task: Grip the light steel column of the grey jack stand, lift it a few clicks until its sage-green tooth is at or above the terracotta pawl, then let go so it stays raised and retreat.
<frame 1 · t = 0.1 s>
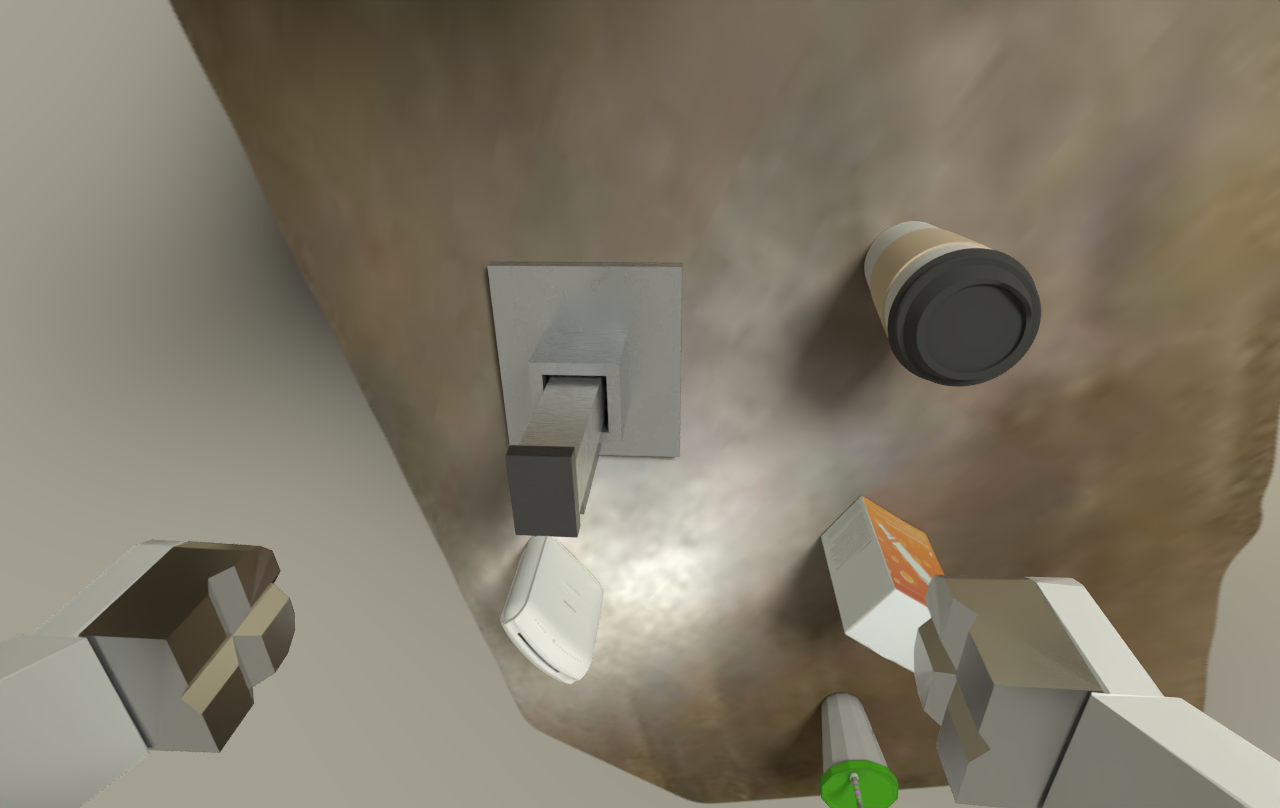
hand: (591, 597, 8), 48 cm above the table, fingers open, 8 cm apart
column: (569, 422, 50), point 11 cm above the table, slide at 0.0 cm
small box: (871, 532, 66), on the table
coffee cup: (907, 263, 54), on the table
photo printer: (565, 566, 71), on the table
cup: (840, 704, 78), on the table
stand base: (591, 361, 60), on the table
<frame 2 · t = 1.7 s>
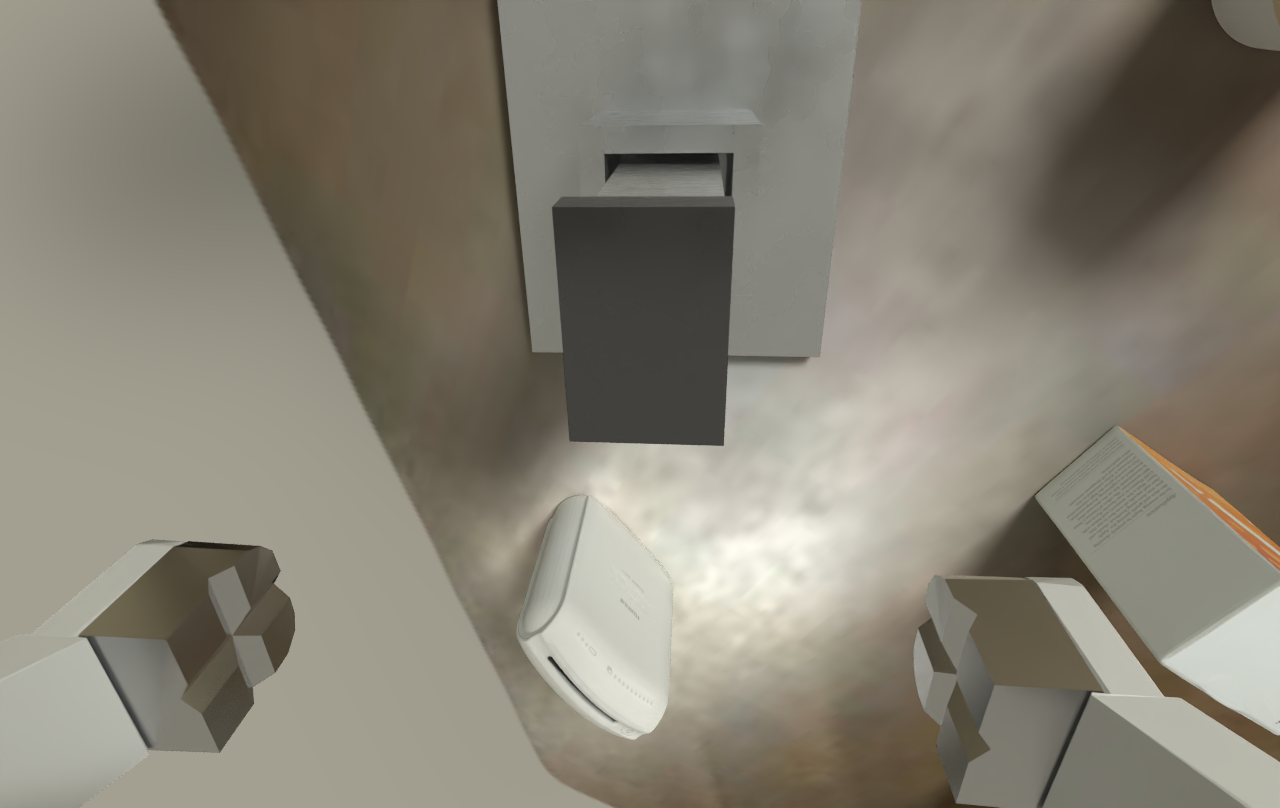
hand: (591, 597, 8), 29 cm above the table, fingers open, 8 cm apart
column: (664, 236, 24), point 11 cm above the table, slide at 0.0 cm
small box: (1118, 489, 41), on the table
photo printer: (614, 546, 46), on the table
stand base: (675, 183, 34), on the table
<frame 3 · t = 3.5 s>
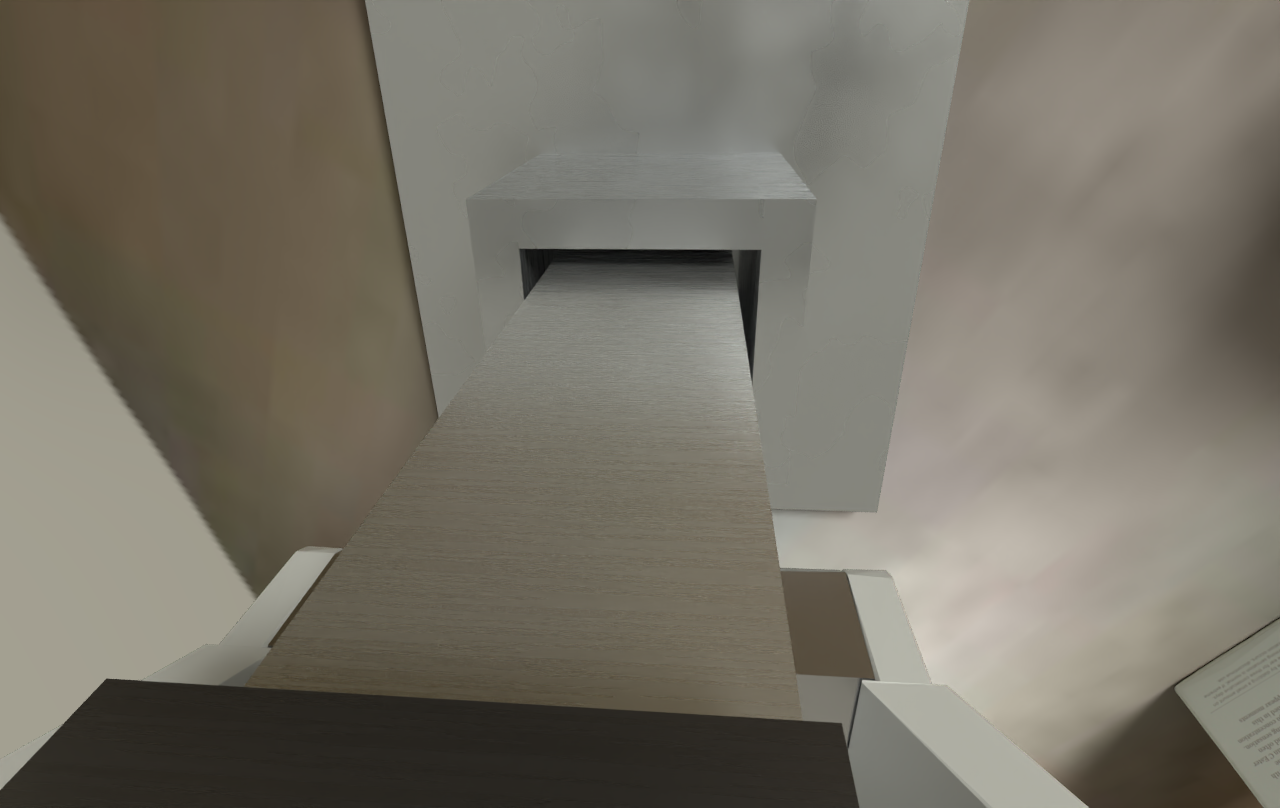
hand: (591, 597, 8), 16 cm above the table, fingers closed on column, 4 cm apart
column: (627, 423, 12), point 11 cm above the table, slide at 0.0 cm, touching gripper
stand base: (660, 260, 22), on the table
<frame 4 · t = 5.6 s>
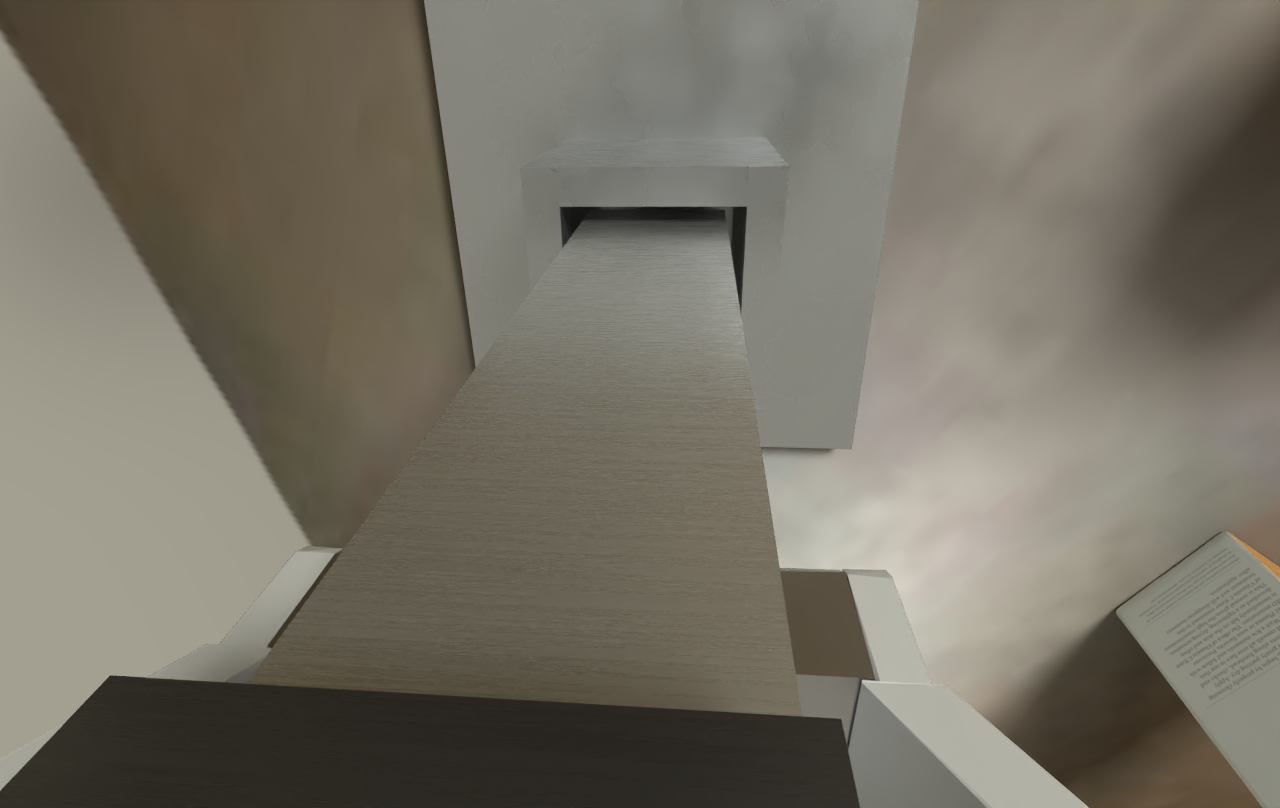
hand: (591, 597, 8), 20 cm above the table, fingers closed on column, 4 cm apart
column: (627, 424, 12), point 16 cm above the table, slide at 4.5 cm, touching gripper
small box: (1221, 603, 33), on the table
stand base: (666, 230, 26), on the table
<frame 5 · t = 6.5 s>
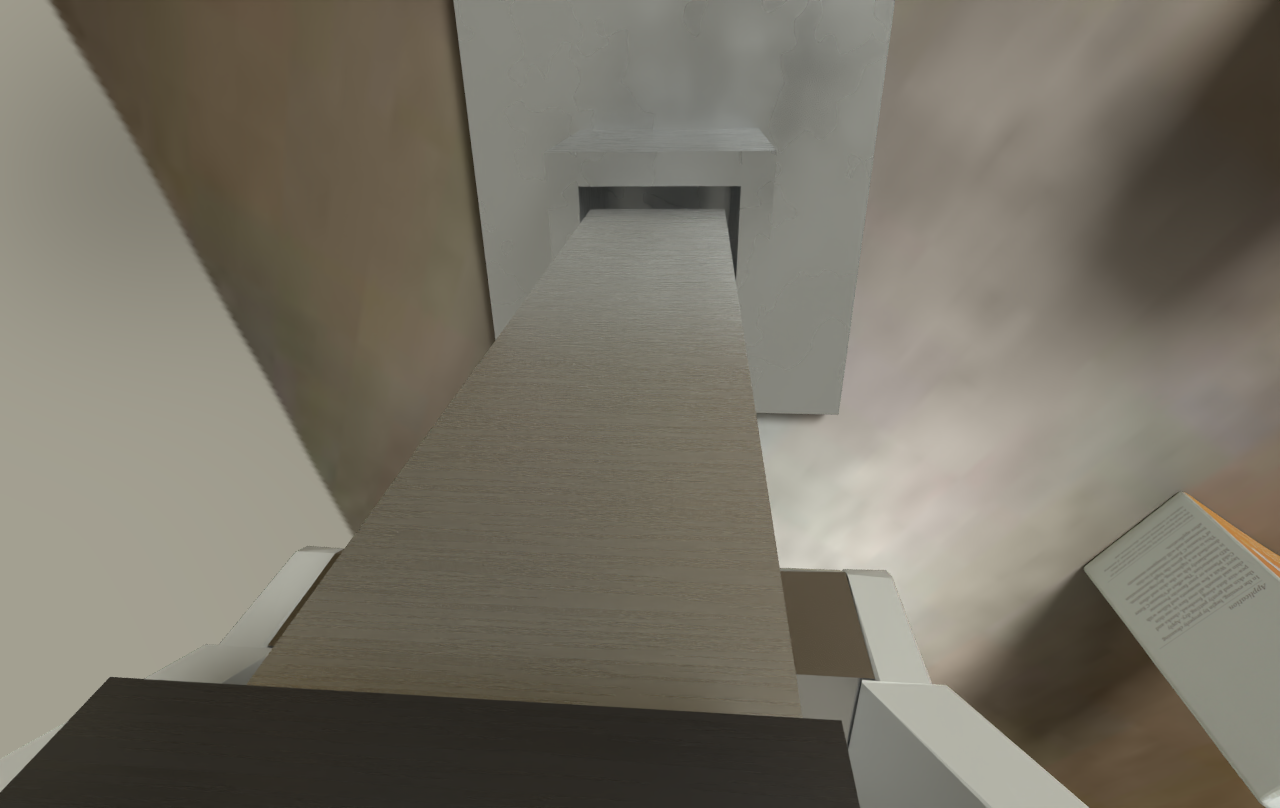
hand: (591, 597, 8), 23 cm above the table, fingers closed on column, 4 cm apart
column: (627, 424, 12), point 19 cm above the table, slide at 7.6 cm, touching gripper
small box: (1180, 560, 35), on the table
stand base: (669, 213, 29), on the table
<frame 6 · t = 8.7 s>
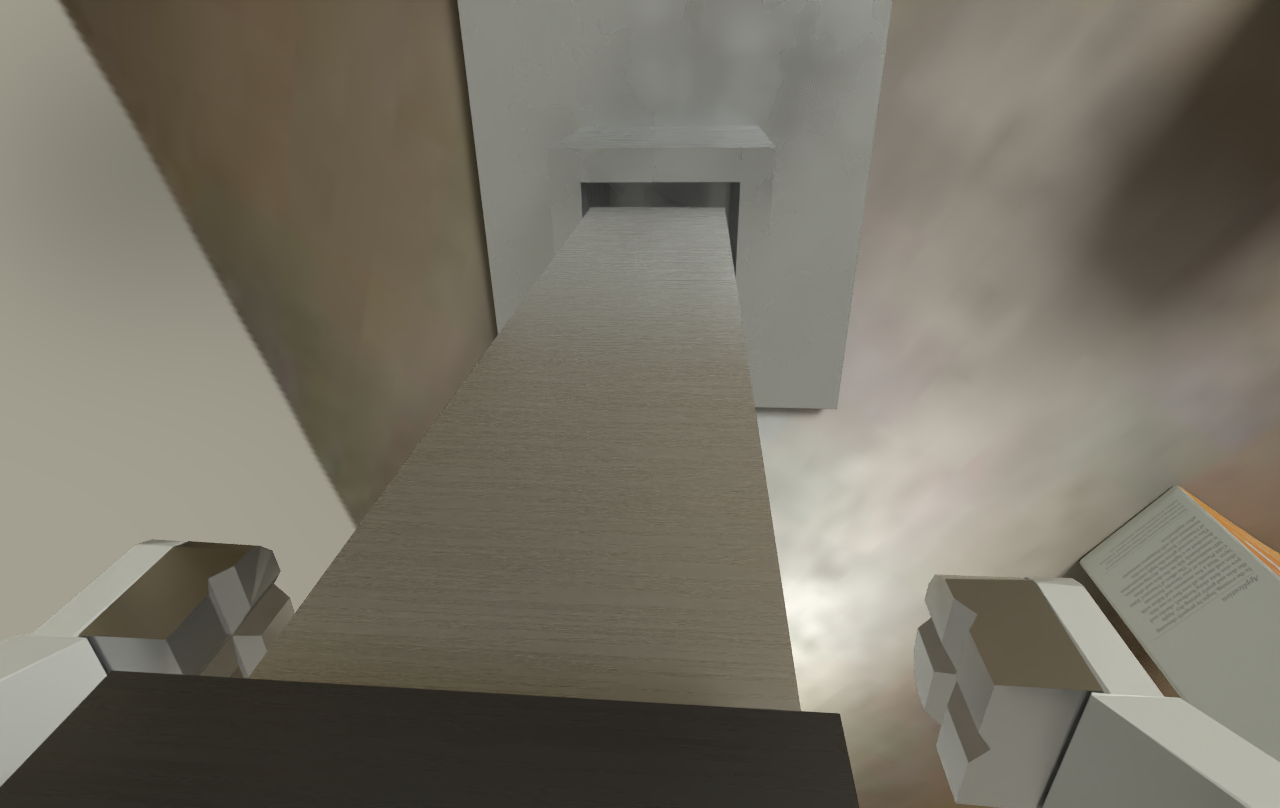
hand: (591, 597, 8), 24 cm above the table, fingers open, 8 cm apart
column: (627, 421, 12), point 19 cm above the table, slide at 8.0 cm
small box: (1175, 554, 36), on the table
stand base: (670, 210, 29), on the table
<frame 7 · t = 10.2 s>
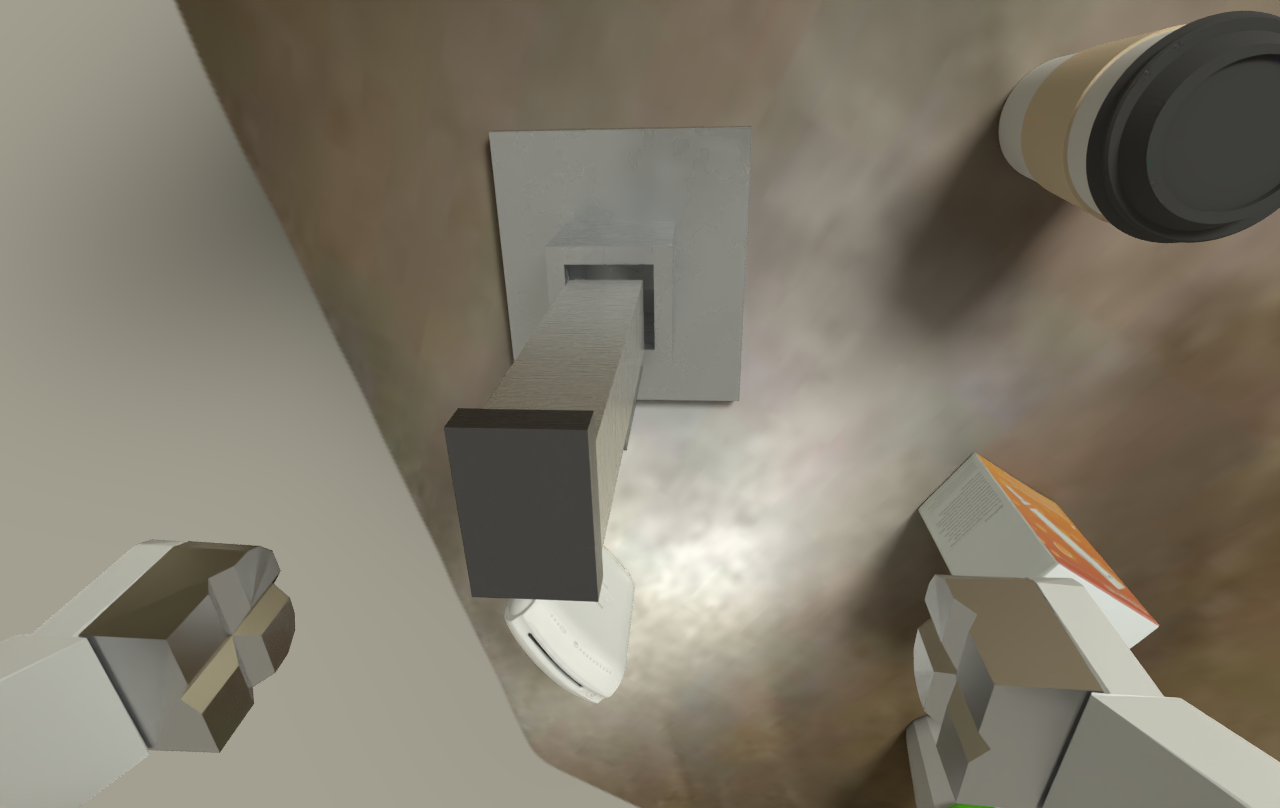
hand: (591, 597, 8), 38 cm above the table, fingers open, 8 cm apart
column: (578, 386, 28), point 19 cm above the table, slide at 8.0 cm
small box: (984, 503, 51), on the table
coffee cup: (1057, 120, 40), on the table
photo printer: (586, 553, 56), on the table
cup: (930, 730, 62), on the table
stand base: (624, 271, 45), on the table
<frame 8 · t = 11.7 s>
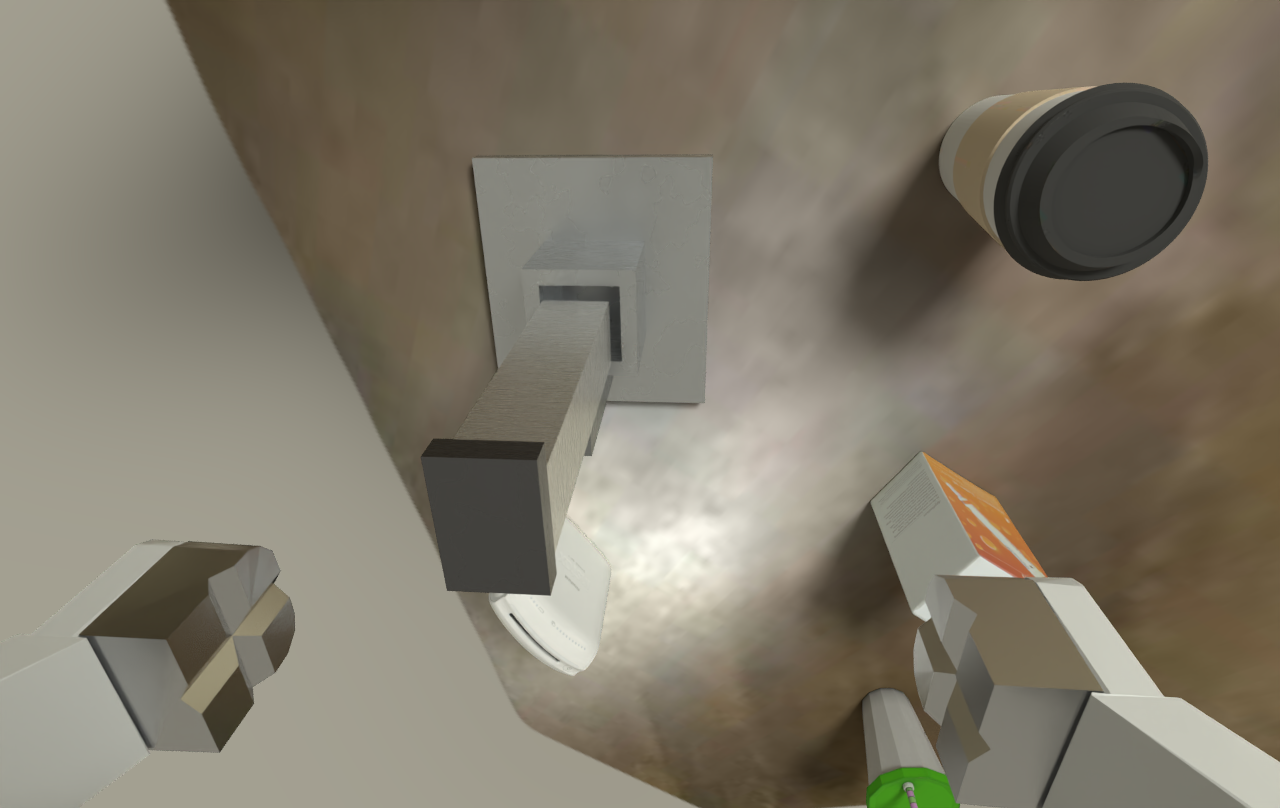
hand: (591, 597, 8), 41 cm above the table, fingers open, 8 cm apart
column: (544, 405, 32), point 19 cm above the table, slide at 8.0 cm
small box: (930, 496, 56), on the table
coffee cup: (992, 152, 43), on the table
photo printer: (567, 538, 61), on the table
cup: (884, 701, 67), on the table
stand base: (599, 284, 49), on the table
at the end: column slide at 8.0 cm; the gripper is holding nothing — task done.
